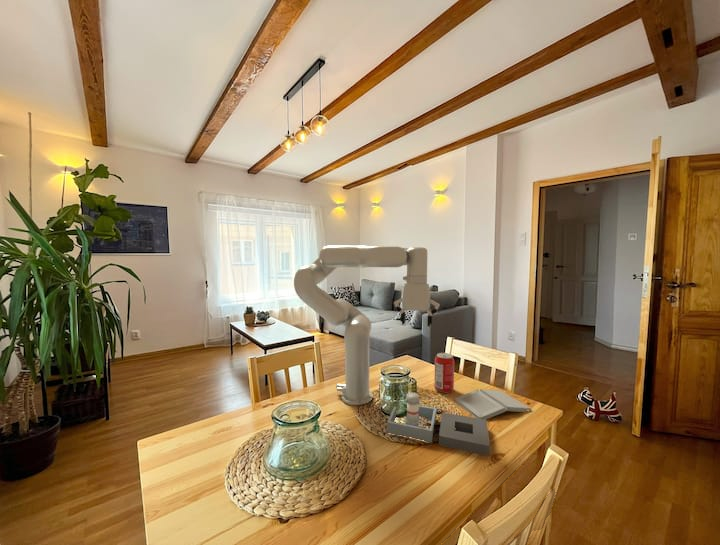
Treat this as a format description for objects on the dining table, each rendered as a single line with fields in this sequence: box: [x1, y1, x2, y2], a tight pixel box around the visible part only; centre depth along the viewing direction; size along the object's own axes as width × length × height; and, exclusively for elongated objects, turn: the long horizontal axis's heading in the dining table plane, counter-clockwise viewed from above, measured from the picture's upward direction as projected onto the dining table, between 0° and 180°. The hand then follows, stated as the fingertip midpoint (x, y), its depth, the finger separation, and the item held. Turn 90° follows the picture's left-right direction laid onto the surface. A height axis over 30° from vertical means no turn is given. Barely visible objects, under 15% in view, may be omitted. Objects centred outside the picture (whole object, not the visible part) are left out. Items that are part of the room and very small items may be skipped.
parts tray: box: [386, 404, 437, 444], centre depth 98 cm, size 14×14×4 cm
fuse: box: [405, 392, 420, 427], centre depth 98 cm, size 4×4×10 cm
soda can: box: [433, 352, 455, 394], centre depth 125 cm, size 8×8×15 cm
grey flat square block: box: [438, 411, 491, 457], centre depth 93 cm, size 14×14×3 cm
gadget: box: [454, 388, 532, 420], centre depth 112 cm, size 23×15×4 cm, turn 107°
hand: (416, 324), depth 113 cm, fingers open, 9 cm apart
